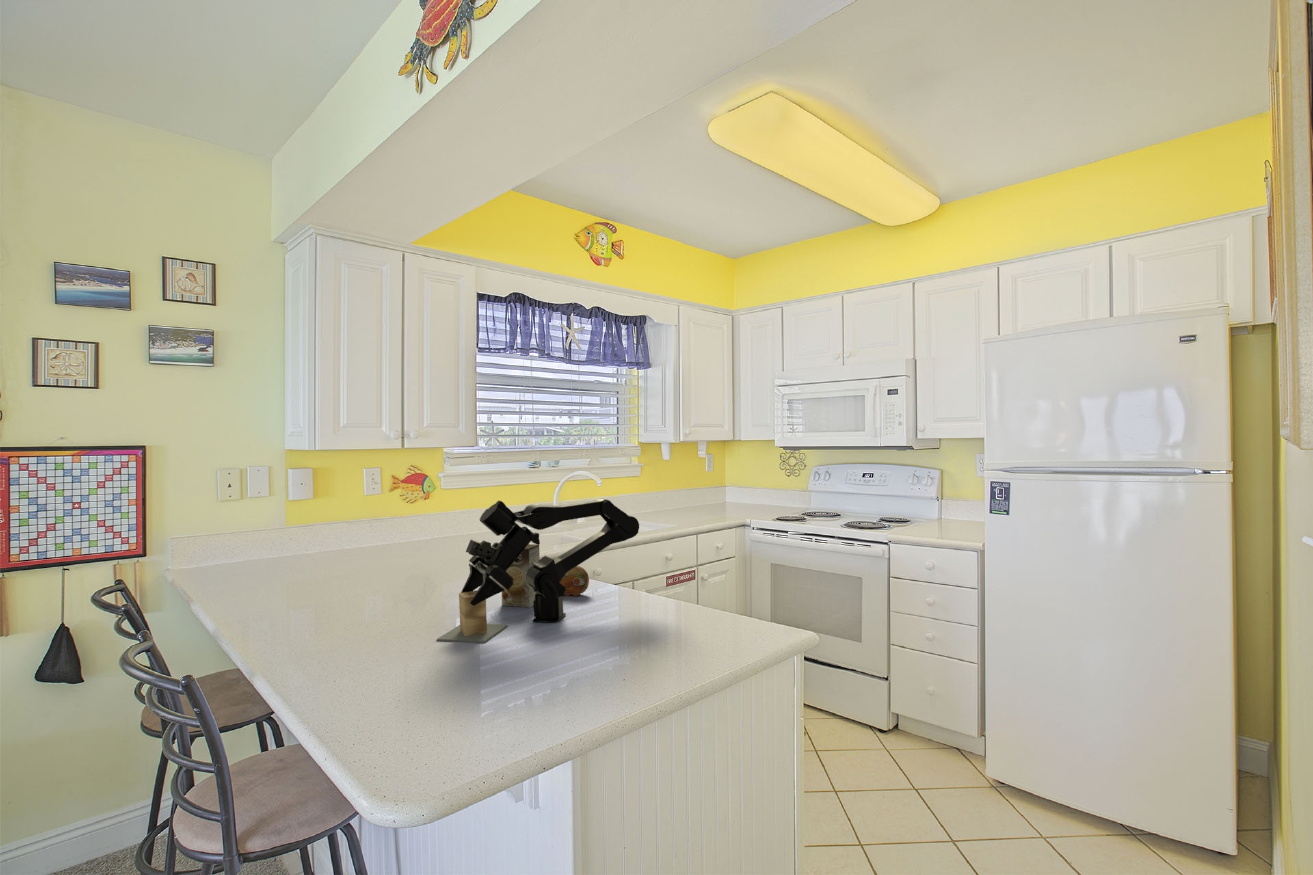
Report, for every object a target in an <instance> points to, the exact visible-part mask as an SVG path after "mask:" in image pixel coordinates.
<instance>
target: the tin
mask: <svg viewBox="0 0 1313 875" xmlns="http://www.w3.org/2000/svg"><path fill="white" fill-rule="evenodd" d="M559 583H560V584H562V585H563V586H564V587H565V588H566V589H565V593H564V596H566V595H573V596H572V597H576V596H580V595H581V594H583V593H584V592H586V590H587V589H588V588H589V583H590V578H589V573H588V572H587V570H586V569H584V568H583V567H582V566H579V565H578V566H576V567H575V568H573V569H571V570H570V571H568V572H567V573H566V574H565V576H564V577H563V579H562V580H561V581H560V582H559Z"/></svg>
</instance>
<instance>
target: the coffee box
mask: <svg viewBox="0 0 1313 875" xmlns="http://www.w3.org/2000/svg"><path fill="white" fill-rule="evenodd" d="M518 559H519V561H518V562H517V563H516V562H513V564H512V565H511V566H510V567H509V568H508V570H507V571H506V572H507V573H508V574H509V575H510V576H511V577H512V578H513V585H512V586H511V587H510V589H509V590H507V589H506V588H504V587H503V589H504V590H505V591H504V592H503V591H502V592H501V606H508V607H518V606H519V608H529V607H530V608H532V607H534V606H533V601H534V600H535V595H536V594H538V593H537V592H534V589H533V587H532V586H530V585H529V584H528V583H527V581H526V574H527V570H528V569H529V568H530V567H531V566H533V565H532V563H535V562H537V561H539V560H540V559H541V558H540V544H539V545H537V544H535V543H529V544H528V545H527V547H526V548H525V549H524V550H523V552H522V553H521V554H520V555H519V556H518ZM531 606H532V607H531Z"/></svg>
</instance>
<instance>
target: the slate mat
mask: <svg viewBox="0 0 1313 875" xmlns="http://www.w3.org/2000/svg"><path fill="white" fill-rule="evenodd" d="M507 626H508V627H509V624H503V623H501V624H500V623H487V632H486V633H481V634H476V635H471V636H465V635H464V634H463V633H462V632H461V631H460V624H459V625H457V626H455V627H454V628H452V629H450V630H449V631H447V632H446V633H444V634H443V635H441V636H439V637H438V638H436V641H437V642H454V643H455V642H456V643H457V642H458V643H475V644H476V643H477V644H478V643H479V644H486V643H487V642H488V641H489V640H492V637H493V636H494V637H495V636H496V634H497V635H498V634H500V633H501V632H502V631H503V629H504V628H505V629H507ZM505 629H504V630H505ZM500 631H501V632H500ZM494 637H493V638H494Z"/></svg>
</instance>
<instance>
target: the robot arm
mask: <svg viewBox="0 0 1313 875" xmlns="http://www.w3.org/2000/svg"><path fill="white" fill-rule="evenodd" d="M595 516H600V517H601V519H602V520H603V521H604V522H605V524H604V526H603V527H602V529H601V530H600V531H598V532H597V533H595V534H593V535H592V536H590V537H588V538H587V539H585V540H583V541H582V542H580V543H578V544H577V545H575V546H574V547H572V548H570V549H569V550H567V551H565V552H564V553H562V554H561V555H559V556H557V557H555V558H551V557H549V556H547V555H544V556H542V557H541V558H540V560H539V561H537V562H535V563H532V565H533V566H531V567H530V568H529V569H528V570H527V574H526V581H527V583H528V584H529V585H530V586H532V587H533V589H534V592H537V593H538V594H536V595H535V600H534V601H533V606H532V607H533V617H534V618H533V619H532V621H533V622H537V621H546V622H545V623H558V622H559V621H560V620H562V619H563V618H564V617H565V616H566V615H567V614H566V612H564V600H563V599H564V598H563V597H564V596H565V595H564V593H565V589H566V588H565V587H564V586H563V585H562V584H560V583H559V582H560V581H561V580H562V579H563V577H564V576H565V574H566V573H567V572H568V571H570V570H571V569H573V568H575V567H576V566H579V565H581V564H582V563H584V562H585V561H587V560H589V559H590V558H592V557H594V556H595V555H596V554H598V553H600V552H602V551H603V550H605V549H606V548H608V547H609V546H611V545H613V544H617V543H621V542H625V541H628V540H630V539H632V538H634V537H636V536H637V535H638V533H639V530H640V522H639V520H638V519H637V518H636V517H635V516H632V515H628V514H627V512H625V511H623V510H621V508H619V507H617V505H615V504H614V503H613V502H611V500H609V499H605V498H597V499H594V500H588V501H581V502H573V503H566V504H561V505H552V504H529V505H527V506H525V508H524V509H523V510H519V511H515V512H513V511H512V510H511V509H510V508H509V507H507V505H506V504H505V502H503V501H502V500H499V499H498V500H497V501H496V502H495V503H493V504H492V505H490V507H488V508H486V509H485V510H484V511H483V513H482V514H481V516H480V517H479V521H480V523H482V525H483V526H485V527H486V528H487V529H488V530H489V531H491V532H492V533H493V534H494V535H495V536H496V537H497V536H503V537H502V539H501V541H499V542H494V543H493V544H492V543H491V542H490V541H486V540H484V539H483V540H482V541H481V542H479V541H477V540H474V539H470V540H469V541H468V542H469V543H468V545H467V548H466V550H465V553H468V554H469V555H470V556H472V557H471V558H470V559H469V560H468V562H469V563H468V566H469V575H468V577H467V579H466V581H465V583H464V585H463V587H462V589H461V591H460V593H464V592H470V591H477V590H478V591H477V592H476V594H475V595H474V597H473V599H472V600H471V602H470V604H472V605H473V606H474V605H476V604H478V603H480V602H482V601H484V600H486V601H487V599H489V598H492V597H494V596H496V595H498V594H500V593H502V591H503V592H504V591H505V590H504V589H503V587H504V588H506V589H507V590H509V589H510V587H511V586H512V585H513V578H512V577H511V576H510V575H509V574H508V573H507V572H506V571H507V570H508V568H509V567H510V566H511V565H512V564H513V562H516V563H517V562H518V561H519V559H518V556H519V555H520V554H521V553H522V552H523V550H524V549H525V548H526V547H527V545H528V544H531V542H532V544H534V545H539V546H540V545H541V542H540V534H539V533H538V532H533V531H532V530H531V529H534V530H538V531H541V530H545V529H548V528H550V527H551V528H552V527H554V526H555V525H557V524H559V523H561V522H564V521H565V522H566V521H570V520H571V521H572V520H578V519H583V518H584V519H585V518H589V517H590V518H591V517H595ZM518 523H520V524H523V525H524V526H522V527H521V526H520V525H519V524H518ZM528 527H529V528H531V529H529V528H528ZM562 617H563V618H562Z"/></svg>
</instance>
